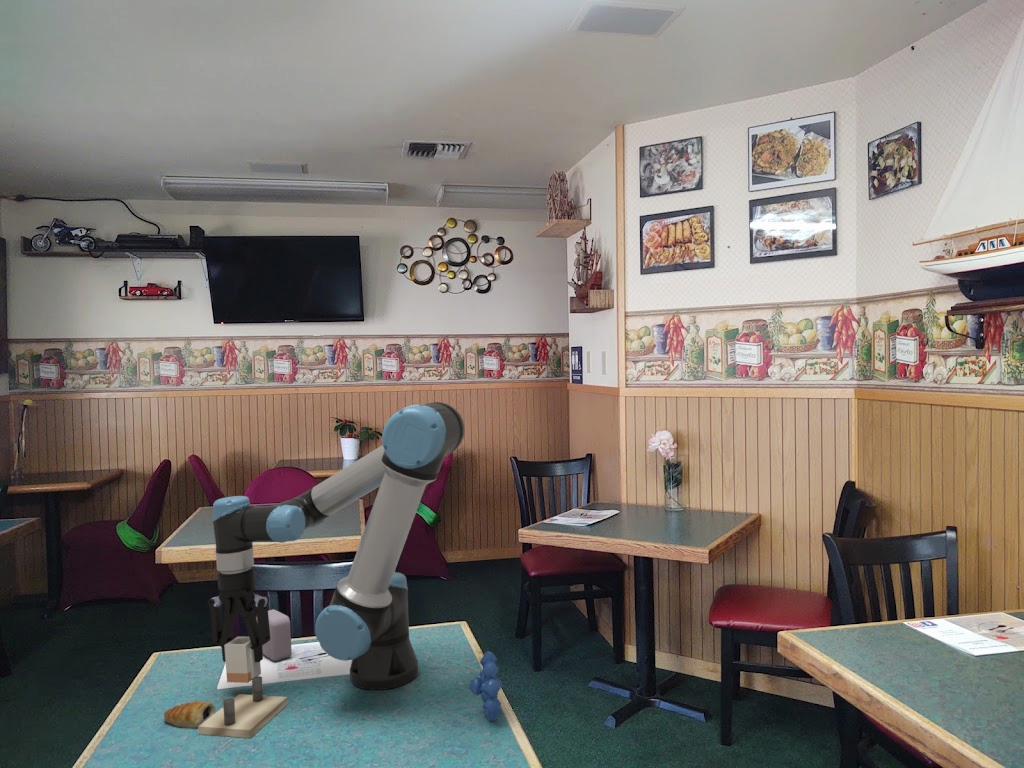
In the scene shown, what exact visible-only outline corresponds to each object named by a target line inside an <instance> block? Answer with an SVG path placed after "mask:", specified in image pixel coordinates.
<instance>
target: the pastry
mask: <svg viewBox="0 0 1024 768" xmlns="http://www.w3.org/2000/svg"><path fill="white" fill-rule="evenodd" d="M215 713H216V706H215V705H214V703H212V702H211V701H206V702H205V701H199V700H195V701H194V700H193V701H191V702H185V703H182V704H180V705H176V706H173V707H170V708H169V709H167V710H166V711H165V712H164V713H163V717H164V720H165V721H166V723H168V724H169V725H170V724H171V725H173V726H175V727H177V728H179V727H180V728H185V729H186V728H187V729H196V728H197V729H198V726H199V725H201V724H202V723H203V722H204V721H206V720H207V719H208V718H210V717H211V716H212V715H213V714H215Z"/></svg>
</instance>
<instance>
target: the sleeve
mask: <svg viewBox="0 0 1024 768" xmlns="http://www.w3.org/2000/svg"><path fill="white" fill-rule="evenodd" d="M250 647H252V644H251V641H250V638H249V636H236V637H235V638H232V641H230V642H228V643H227V644H225V645H224V648H225V661H226V662H225V669H226V671H225V673H226V683H239V684H244V683H245V684H249V683H250V682H252V679H251V670H250V657H249V649H250Z"/></svg>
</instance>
